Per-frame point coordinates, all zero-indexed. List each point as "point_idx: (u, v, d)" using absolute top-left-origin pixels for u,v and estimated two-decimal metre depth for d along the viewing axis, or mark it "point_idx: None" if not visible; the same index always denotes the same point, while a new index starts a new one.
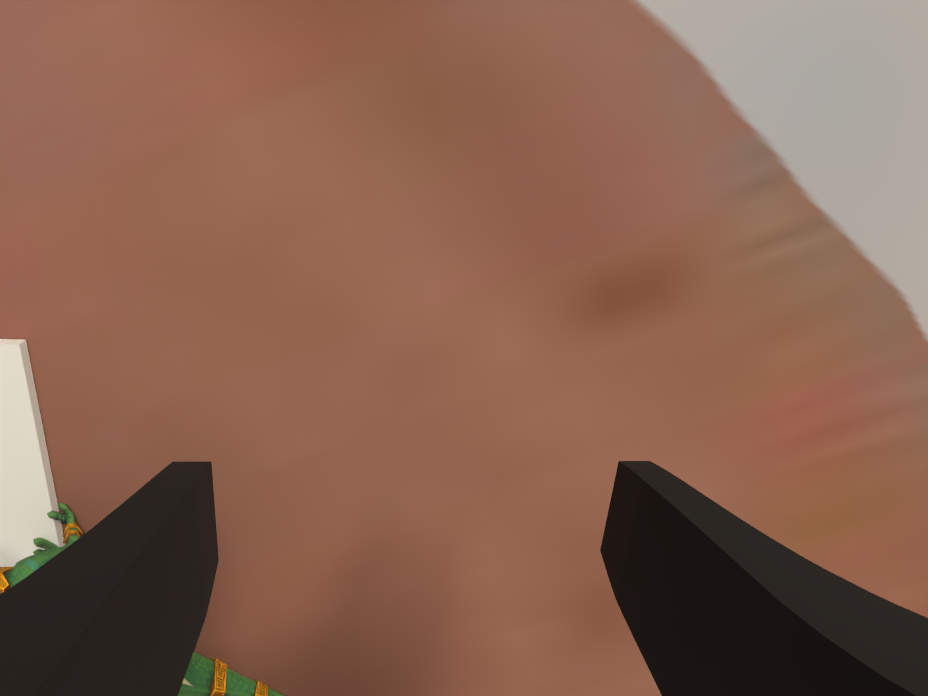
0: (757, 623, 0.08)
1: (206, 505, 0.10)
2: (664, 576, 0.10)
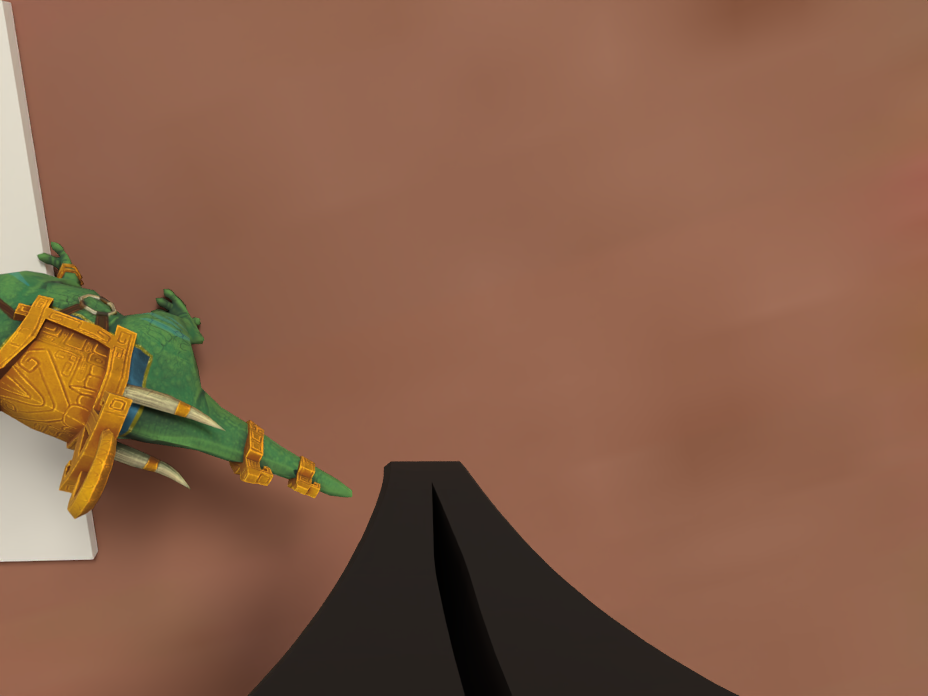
0: (473, 636, 0.07)
1: None
2: (440, 583, 0.09)
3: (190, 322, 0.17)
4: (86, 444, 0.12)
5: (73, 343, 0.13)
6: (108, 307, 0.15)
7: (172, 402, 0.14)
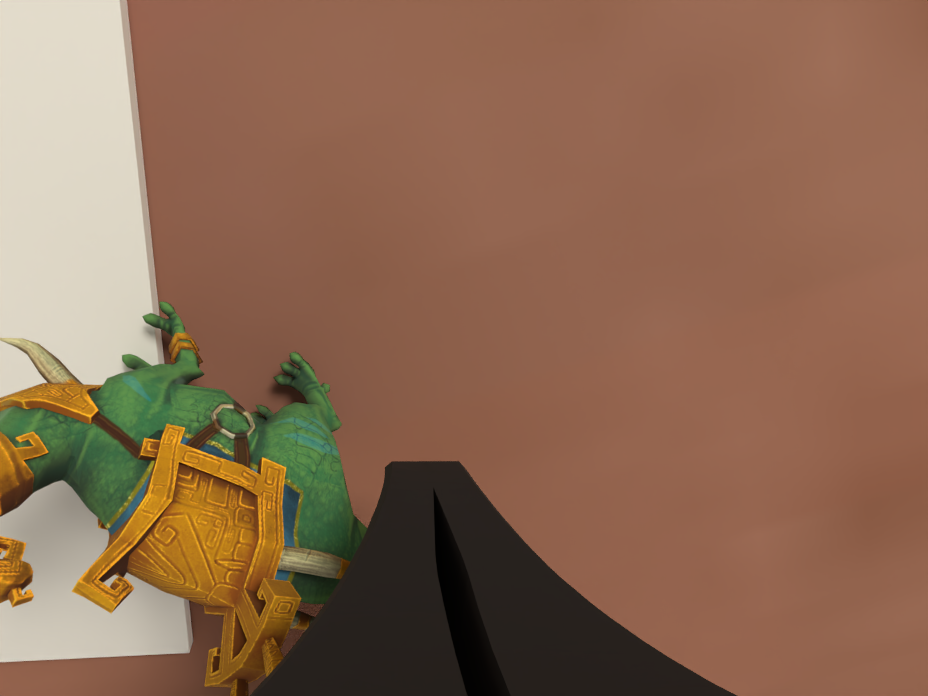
0: (472, 636, 0.07)
1: None
2: (439, 583, 0.09)
3: (324, 400, 0.14)
4: (244, 654, 0.09)
5: (216, 497, 0.10)
6: (244, 418, 0.12)
7: (334, 564, 0.11)
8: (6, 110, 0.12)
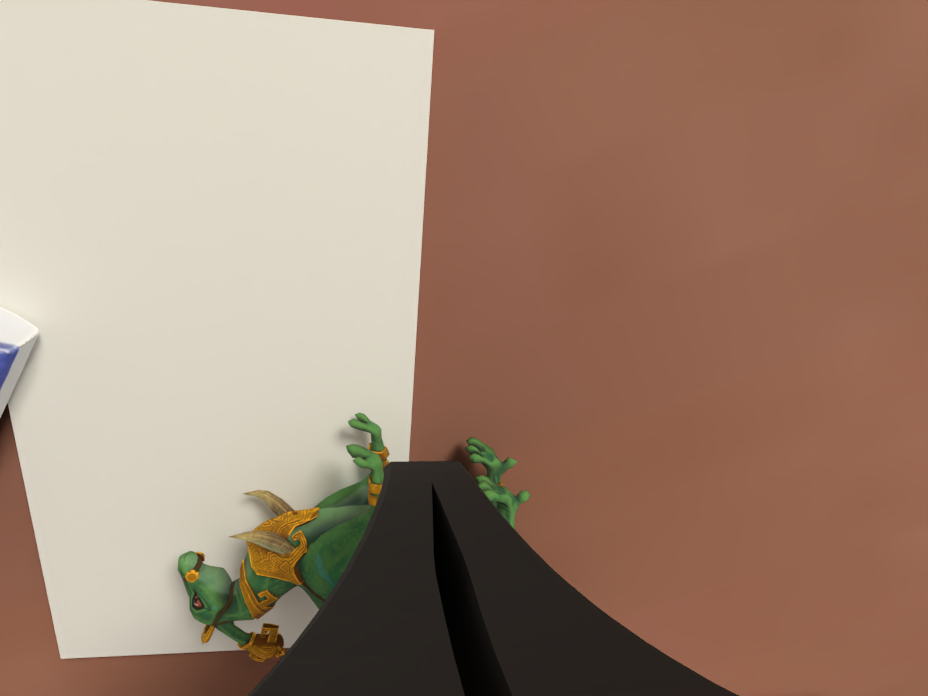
0: (473, 636, 0.07)
1: None
2: (440, 583, 0.09)
3: None
4: None
5: None
6: None
7: None
8: (319, 134, 0.13)
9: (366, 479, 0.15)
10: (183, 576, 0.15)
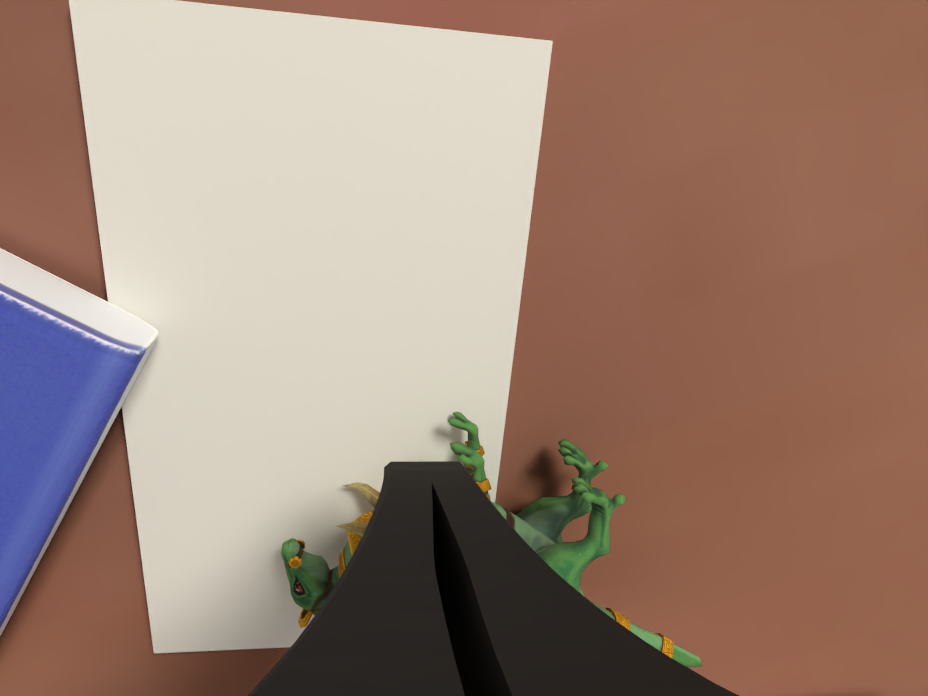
0: (473, 636, 0.07)
1: None
2: (440, 583, 0.09)
3: (600, 535, 0.15)
4: None
5: None
6: None
7: None
8: (436, 141, 0.13)
9: None
10: (287, 562, 0.15)
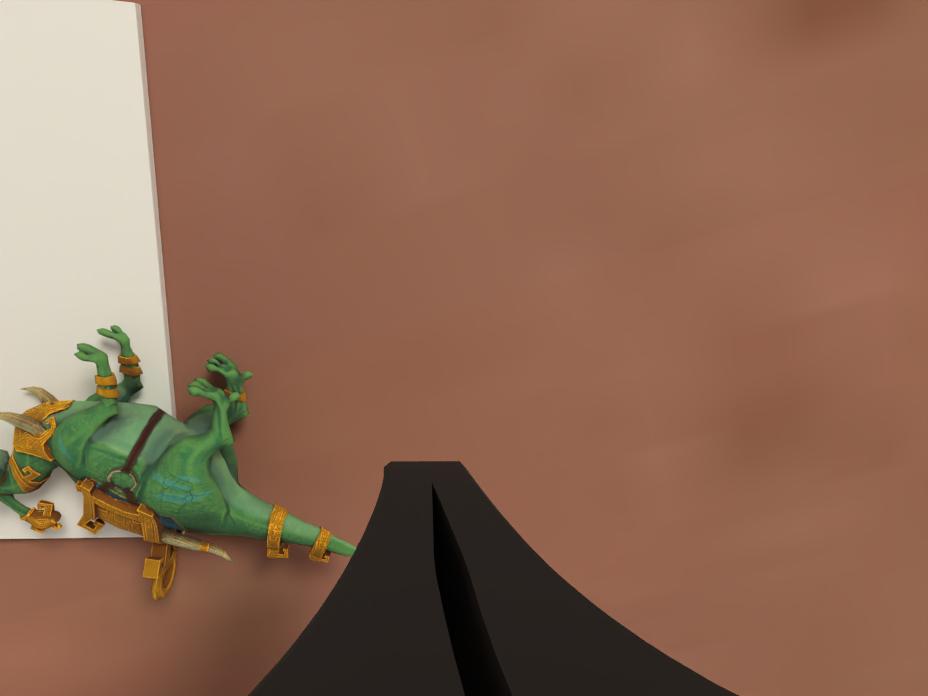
0: (473, 636, 0.07)
1: None
2: (440, 583, 0.09)
3: (218, 426, 0.17)
4: None
5: (118, 519, 0.18)
6: (131, 475, 0.17)
7: (194, 548, 0.19)
8: (48, 87, 0.16)
9: (122, 382, 0.18)
10: None
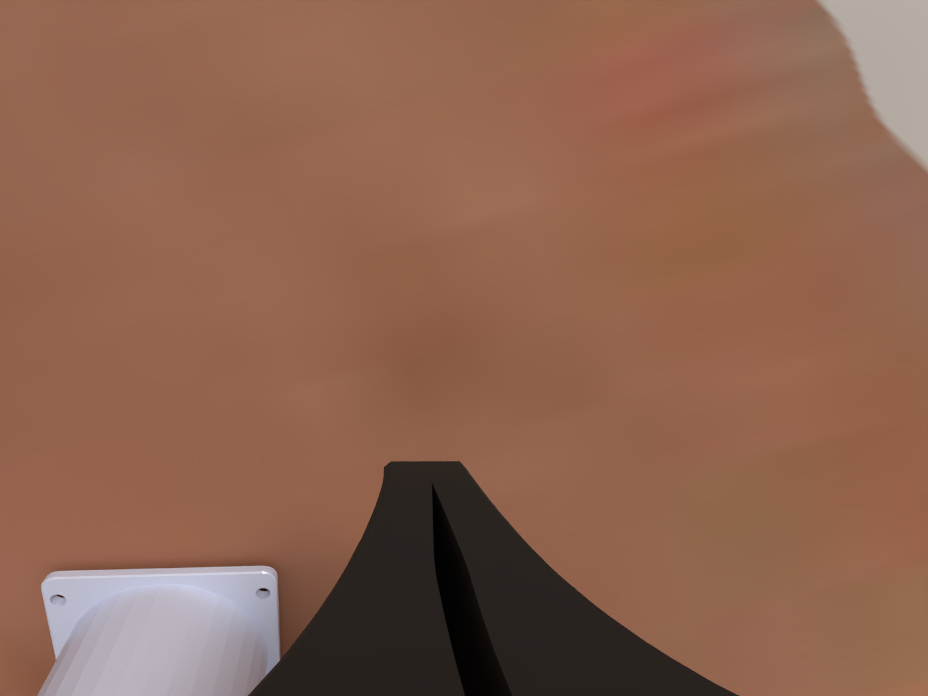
0: (473, 636, 0.07)
1: None
2: (440, 583, 0.09)
3: None
4: None
5: None
6: None
7: None
8: None
9: None
10: None
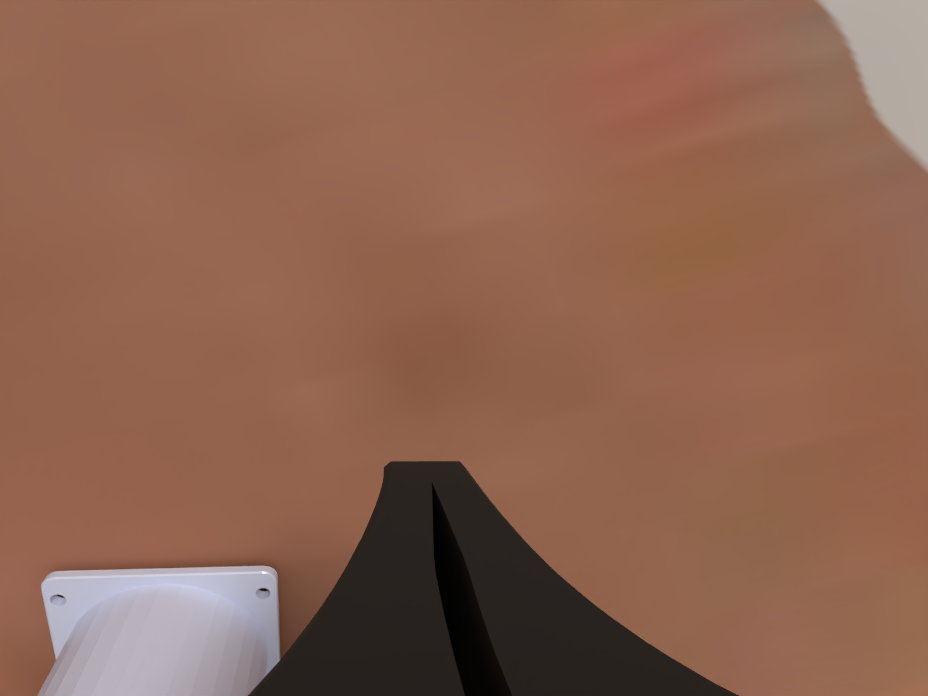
0: (473, 636, 0.07)
1: None
2: (440, 583, 0.09)
3: None
4: None
5: None
6: None
7: None
8: None
9: None
10: None
